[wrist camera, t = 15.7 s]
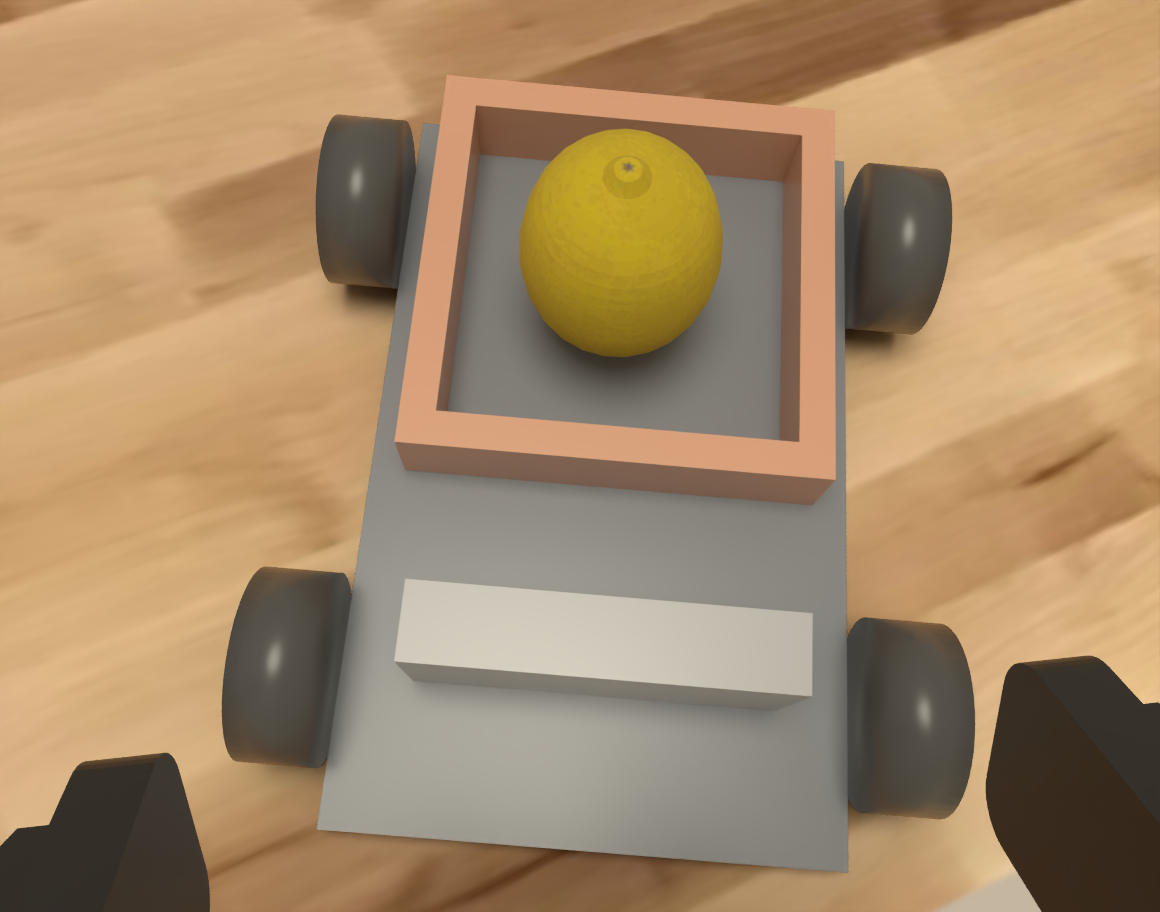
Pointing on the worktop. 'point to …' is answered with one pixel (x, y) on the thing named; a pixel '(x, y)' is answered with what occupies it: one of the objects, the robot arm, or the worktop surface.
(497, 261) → the chassis
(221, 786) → the worktop surface
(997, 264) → the worktop surface
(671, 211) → the lemon
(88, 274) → the worktop surface
